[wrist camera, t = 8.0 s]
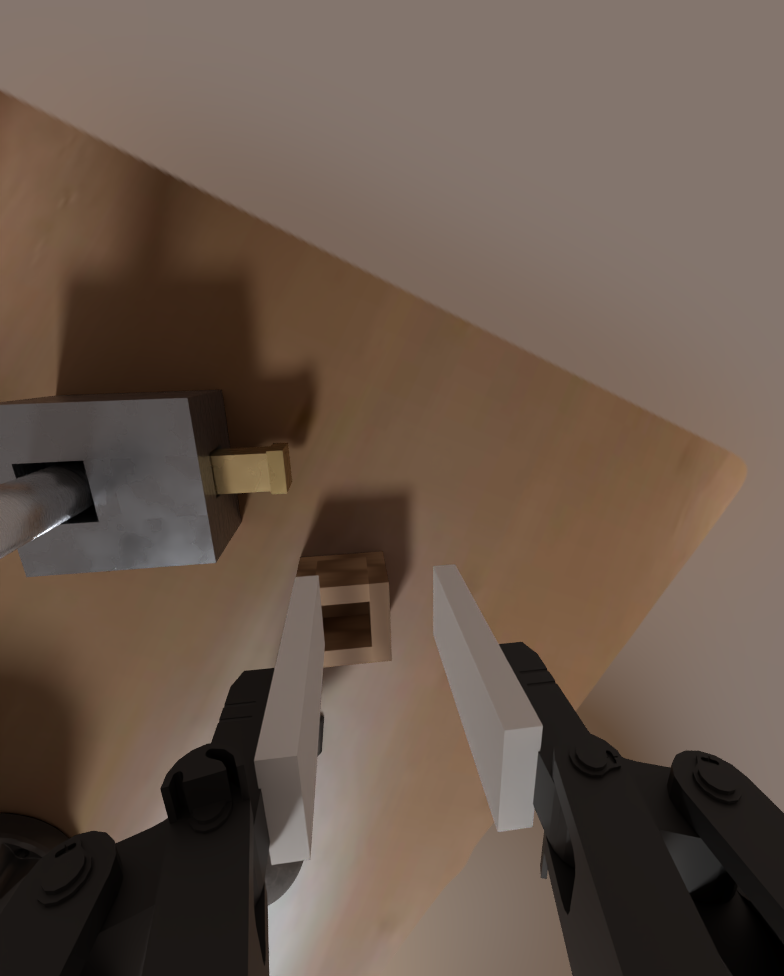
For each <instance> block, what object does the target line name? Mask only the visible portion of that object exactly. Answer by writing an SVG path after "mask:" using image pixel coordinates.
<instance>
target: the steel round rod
mask: <svg viewBox="0 0 784 976" xmlns="http://www.w3.org/2000/svg"><path fill="white" fill-rule="evenodd" d="M92 505H94V501H93V497H92V493H91V489H90V485H89V481H88V477H87V474H86V470H85V466H84V462H83V460H81V461H64V462H61V463H58V464H55V465H53V466H50V467H47V468H44V469H42V470H39V471H36V472H33V473H30V474H28V475H25V476H22V477H19V478H17V479H14V480H11V481H8V482H6V483H3V484H0V559H1V558H2V557H4V556H6V555H8V554H9V553H11V552H13V551H14V550H16V549H18V548H20V547H21V546H23V545H25V544H27V543H28V542H30V541H32V540H33V539H35V538H37V537H39V536H40V535H42V534H44V533H46V532H47V531H49V530H51V529H53V528H54V527H56V526H58V525H59V524H61V523H63V522H65V521H66V520H68V519H70V518H72V517H73V516H75V515H77V514H79V513H80V512H82V511H84V510H85V509H87V508H89V507H91V506H92Z"/></svg>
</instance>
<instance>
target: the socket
mask: <svg viewBox="0 0 784 976" xmlns="http://www.w3.org/2000/svg"><path fill="white" fill-rule="evenodd" d="M225 448H230V442H229V436H228V429H227V422H226V415H225V409H224V402H223V395H222V390H199V391H171V392H143V393H115V394H87V395H59V396H48V397H40V398H32V399H24V400H15V401H7V402H0V484H3V483H6V482H8V481H11V480H14V479H17V478H19V477H22V476H25V475H28V474H30V473H33V472H36V471H39V470H42V469H44V468H47V467H50V466H53V465H55V464H58V463H61V462H64V461H81V460H83V462H84V466H85V470H86V474H87V477H88V481H89V485H90V489H91V493H92V497H93V501H94V505H92V506H91V507H89V508H87V509H85V510H84V511H82V512H80V513H79V514H77V515H75V516H73V517H72V518H70V519H68V520H66V521H65V522H63V523H61V524H59V525H58V526H56V527H54V528H53V529H51V530H49V531H47V532H46V533H44V534H42V535H40V536H39V537H37V538H35V539H33V540H32V541H30V542H28V543H27V544H25V545H23V546H21V547H20V548H18V552H19V555H20V558H21V561H22V564H23V567H24V570H25V573H26V576H27V577H34V576H47V575H60V574H73V573H87V572H100V571H113V570H127V569H140V568H153V567H167V566H180V565H193V564H207V563H216V562H217V560H218V559H219V557H220V556H221V554H222V552H223V551H224V549H225V548H226V546H227V544H228V543H229V541H230V540H231V538H232V537H233V535H234V533H235V532H236V530H237V529H238V527H239V525H240V524H241V517H240V510H239V503H238V496H237V493H232V494H216V492H215V486H214V480H213V474H212V468H211V462H210V456H209V453H210V452H211V451H213V450H214V449H225Z"/></svg>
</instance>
